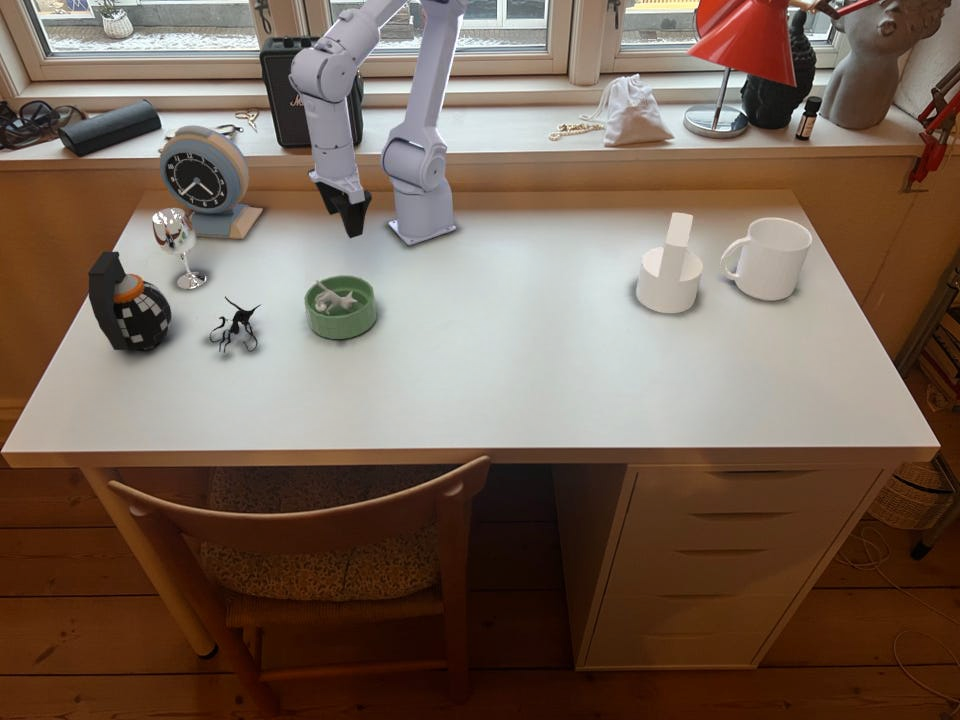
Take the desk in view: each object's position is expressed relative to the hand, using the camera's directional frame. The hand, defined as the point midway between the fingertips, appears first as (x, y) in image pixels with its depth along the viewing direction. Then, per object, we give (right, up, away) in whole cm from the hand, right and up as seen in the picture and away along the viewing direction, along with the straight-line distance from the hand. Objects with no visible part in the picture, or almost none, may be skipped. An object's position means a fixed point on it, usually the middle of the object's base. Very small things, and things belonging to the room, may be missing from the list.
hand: (345, 223), depth 107 cm
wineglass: (-26, -8, +6) cm, 28 cm away
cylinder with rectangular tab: (+49, -11, +2) cm, 51 cm away
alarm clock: (-26, +4, +18) cm, 32 cm away
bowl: (0, -15, -2) cm, 15 cm away
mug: (+64, -9, +4) cm, 65 cm away
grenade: (-28, -19, -6) cm, 34 cm away
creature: (-15, -18, -5) cm, 24 cm away
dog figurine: (-2, -14, -3) cm, 15 cm away
